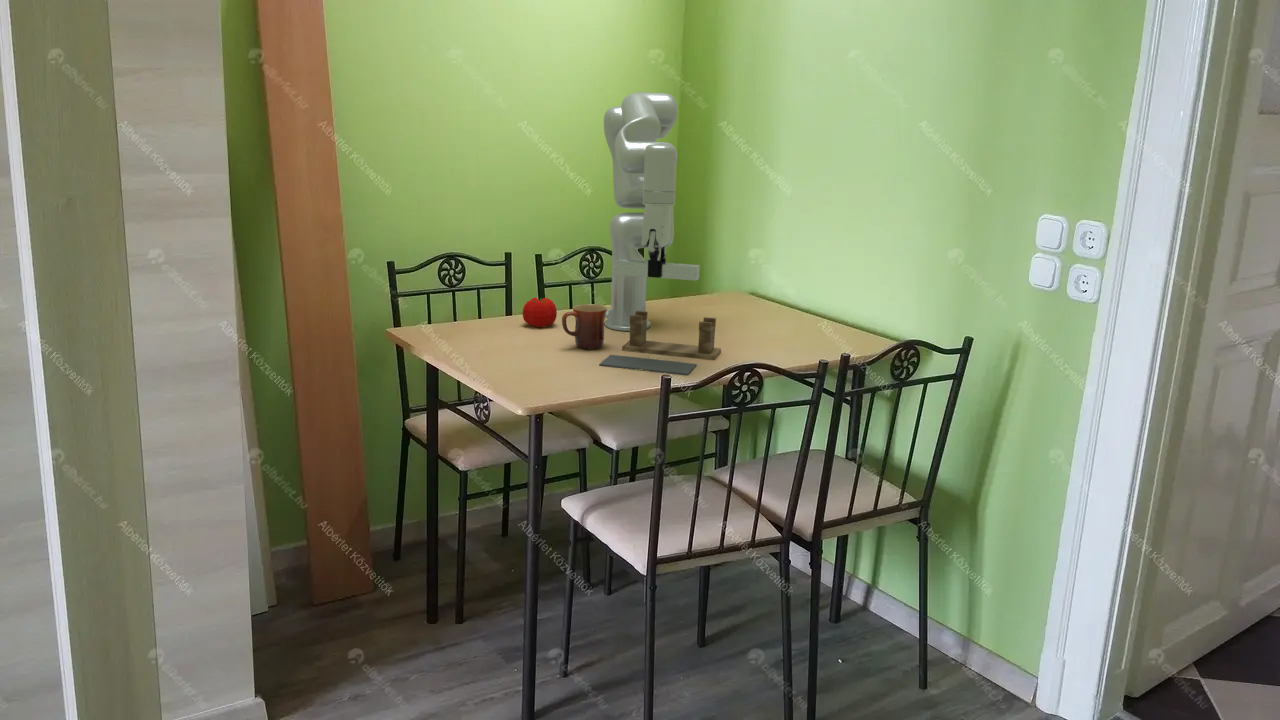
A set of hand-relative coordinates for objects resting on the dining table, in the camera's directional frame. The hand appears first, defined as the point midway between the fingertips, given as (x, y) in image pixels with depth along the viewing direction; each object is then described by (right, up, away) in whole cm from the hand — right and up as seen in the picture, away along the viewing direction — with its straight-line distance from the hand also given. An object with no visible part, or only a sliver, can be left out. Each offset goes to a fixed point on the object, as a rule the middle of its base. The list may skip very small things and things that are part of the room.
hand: (656, 275), depth 238 cm
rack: (+4, -18, +17) cm, 25 cm away
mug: (-18, -17, +18) cm, 31 cm away
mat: (-2, -22, +4) cm, 22 cm away
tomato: (-32, -11, +39) cm, 52 cm away
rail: (0, 0, 0) cm, 0 cm away
